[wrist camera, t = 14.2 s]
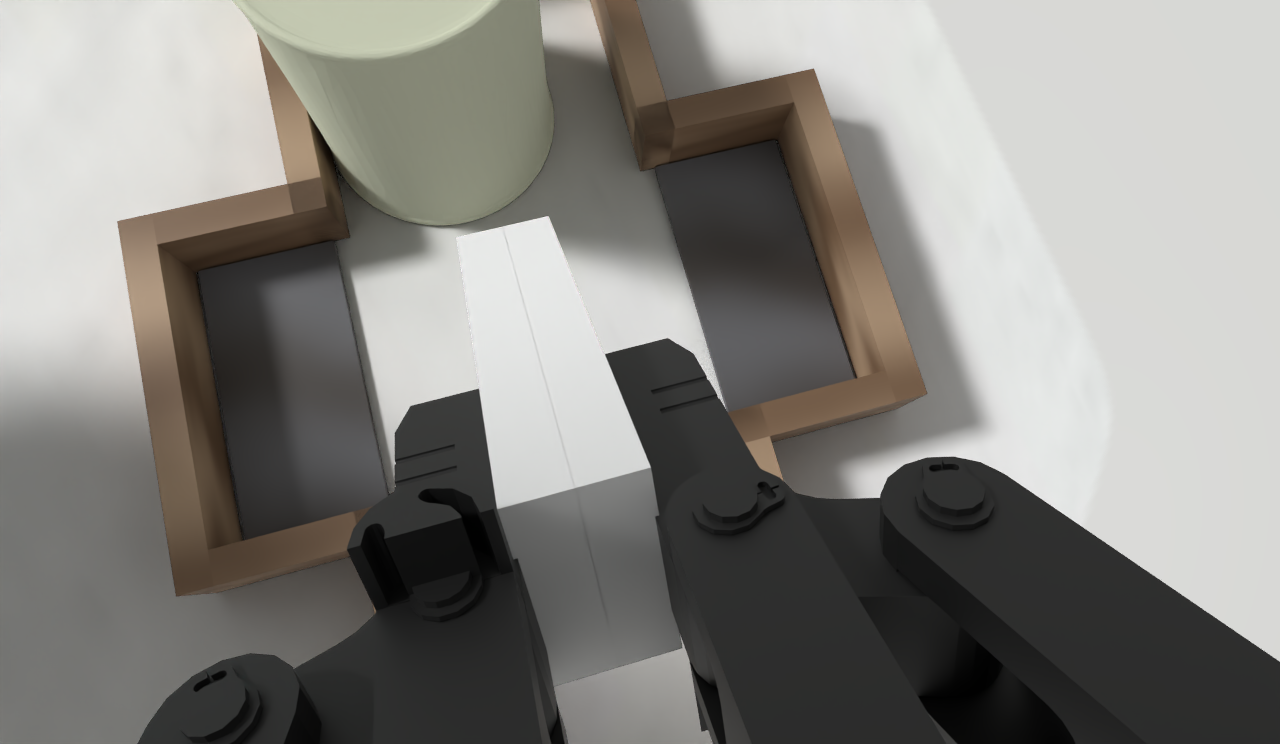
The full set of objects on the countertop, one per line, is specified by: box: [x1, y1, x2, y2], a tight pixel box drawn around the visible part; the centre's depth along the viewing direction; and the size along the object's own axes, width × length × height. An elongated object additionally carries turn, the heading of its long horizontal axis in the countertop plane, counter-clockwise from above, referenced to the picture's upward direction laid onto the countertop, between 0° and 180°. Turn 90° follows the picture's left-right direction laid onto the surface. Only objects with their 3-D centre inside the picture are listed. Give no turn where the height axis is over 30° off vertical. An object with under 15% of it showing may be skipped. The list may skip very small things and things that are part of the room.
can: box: [232, 0, 554, 225], centre depth 29 cm, size 9×9×12 cm
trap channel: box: [117, 0, 927, 614], centre depth 30 cm, size 35×26×6 cm
